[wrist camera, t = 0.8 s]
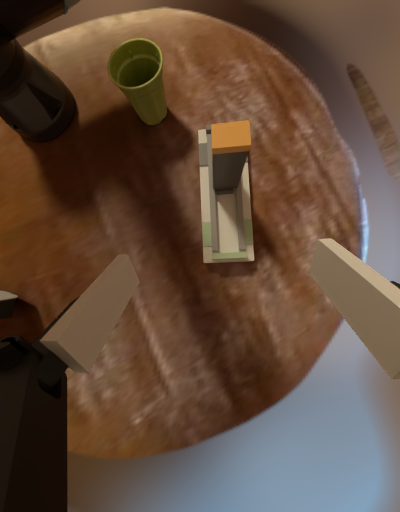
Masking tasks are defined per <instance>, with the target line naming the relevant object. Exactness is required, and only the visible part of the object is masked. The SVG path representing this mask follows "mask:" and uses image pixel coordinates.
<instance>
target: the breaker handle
mask: <svg viewBox="0 0 400 512" xmlns="http://www.w3.org/2000/svg"><path fill="white" fill-rule="evenodd" d="M211 138H212V177H213V189H217V194H218V195H221V194H233V191H234V189H233V188H237V187H238V186H239V182H240V179H241V175H242V172H243V169H244V165H245V162H246V158H247V155H248V151H249V150H250V146H251V138H250V124H249V120H247V121H238V122H228V123H219V124H211Z"/></svg>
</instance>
